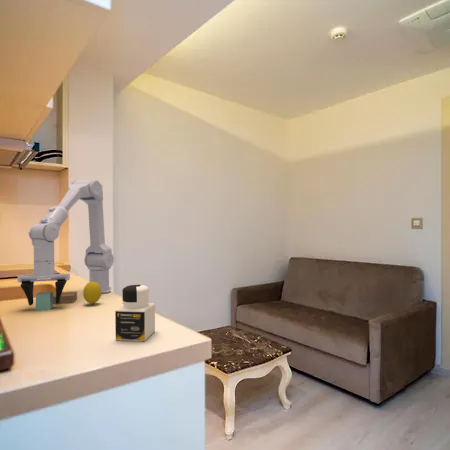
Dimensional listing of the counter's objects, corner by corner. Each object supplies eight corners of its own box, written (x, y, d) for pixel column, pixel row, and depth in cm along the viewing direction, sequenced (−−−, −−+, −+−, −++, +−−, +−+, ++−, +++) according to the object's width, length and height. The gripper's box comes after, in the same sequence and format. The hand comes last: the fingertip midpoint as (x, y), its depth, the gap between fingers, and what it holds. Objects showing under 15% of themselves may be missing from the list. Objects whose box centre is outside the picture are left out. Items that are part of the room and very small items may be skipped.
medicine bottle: (115, 340, 76) (114, 288, 76) (128, 330, 83) (127, 282, 83) (144, 341, 75) (144, 289, 75) (155, 331, 82) (155, 283, 82)
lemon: (97, 306, 107) (97, 282, 107) (80, 306, 107) (80, 282, 107) (103, 302, 113) (103, 279, 113) (87, 302, 113) (87, 279, 113)
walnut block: (55, 300, 117) (55, 292, 117) (76, 299, 119) (76, 291, 119) (50, 305, 110) (50, 296, 110) (73, 304, 112) (73, 295, 112)
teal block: (39, 307, 106) (39, 292, 106) (53, 307, 108) (53, 291, 107) (35, 311, 103) (35, 295, 103) (50, 310, 104) (49, 294, 104)
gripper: (13, 263, 99) (14, 308, 99) (66, 261, 103) (66, 305, 103) (21, 260, 106) (22, 303, 106) (70, 259, 110) (71, 300, 110)
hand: (44, 303), depth 105 cm, fingers open, 7 cm apart
